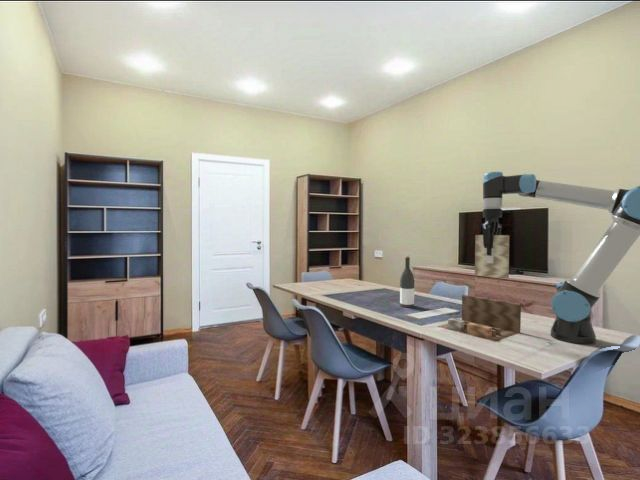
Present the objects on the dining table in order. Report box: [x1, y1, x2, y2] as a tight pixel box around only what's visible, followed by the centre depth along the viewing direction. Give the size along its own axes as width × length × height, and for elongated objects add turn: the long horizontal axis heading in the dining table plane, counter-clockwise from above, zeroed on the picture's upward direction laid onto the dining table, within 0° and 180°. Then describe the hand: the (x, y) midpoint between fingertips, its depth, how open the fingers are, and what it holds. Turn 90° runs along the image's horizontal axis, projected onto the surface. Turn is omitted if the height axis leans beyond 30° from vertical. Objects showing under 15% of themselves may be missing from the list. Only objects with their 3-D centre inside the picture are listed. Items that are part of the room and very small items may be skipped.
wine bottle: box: [399, 254, 415, 308], centre depth 202 cm, size 8×8×30 cm
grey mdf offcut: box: [447, 317, 464, 331], centre depth 150 cm, size 6×3×4 cm, turn 36°
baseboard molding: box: [403, 305, 460, 320], centre depth 184 cm, size 31×3×12 cm
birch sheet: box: [474, 234, 510, 279], centre depth 150 cm, size 14×2×18 cm, turn 36°
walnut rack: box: [437, 294, 522, 343], centre depth 150 cm, size 26×21×14 cm
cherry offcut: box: [467, 323, 492, 339], centre depth 141 cm, size 9×3×4 cm, turn 36°
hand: (491, 262), depth 150 cm, fingers closed on birch sheet, 2 cm apart
